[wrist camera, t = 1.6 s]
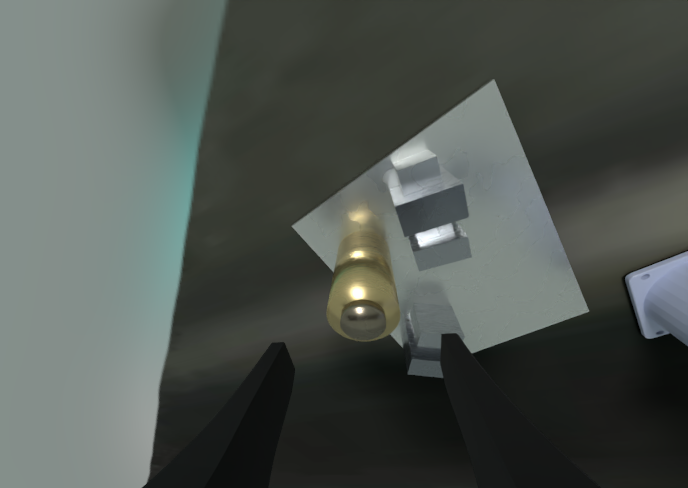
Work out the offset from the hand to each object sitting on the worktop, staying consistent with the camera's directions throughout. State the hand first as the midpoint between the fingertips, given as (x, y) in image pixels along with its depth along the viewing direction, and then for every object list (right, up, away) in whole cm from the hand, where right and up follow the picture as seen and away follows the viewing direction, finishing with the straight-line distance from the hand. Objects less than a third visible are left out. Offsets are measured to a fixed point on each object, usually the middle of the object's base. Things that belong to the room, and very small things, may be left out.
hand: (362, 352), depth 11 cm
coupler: (+1, +4, +8) cm, 9 cm away
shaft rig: (+7, +3, +8) cm, 11 cm away
